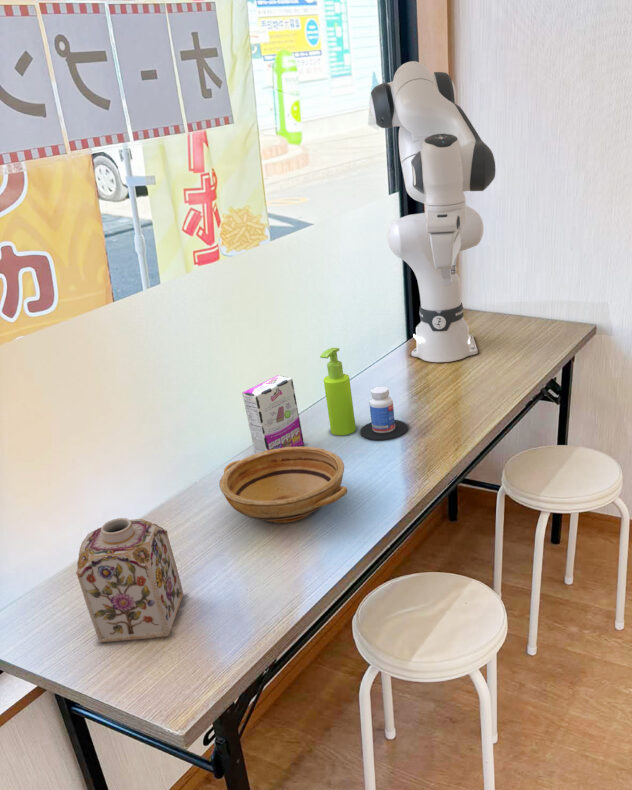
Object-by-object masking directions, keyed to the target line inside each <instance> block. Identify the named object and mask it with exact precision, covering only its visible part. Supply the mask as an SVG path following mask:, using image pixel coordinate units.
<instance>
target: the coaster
mask: <svg viewBox="0 0 632 790" xmlns="http://www.w3.org/2000/svg"><path fill="white" fill-rule="evenodd" d="M407 432H408V425H407V423H406V422H404V421H402V420H398V419H395V429H394V430H393V431H391V432H388V433H376V432H374V431H373V430H372V422H369V423H367V424H365V425H363V426H362V427H361V428H360V431H359V433H360V435H361V437H362V438H363V439H365V440H369V441H376V442H379V441H381V442H383V441H390V440H394V439H397V438H400V437H402V436H403V435H405V434H406V433H407Z"/></svg>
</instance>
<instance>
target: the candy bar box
mask: <svg viewBox="0 0 632 790" xmlns="http://www.w3.org/2000/svg"><path fill="white" fill-rule="evenodd" d="M241 394H242V398H243V399H242V400H243V404H244V408H245V412H246V416H247V417H246V418H247V422H248V427H249V431H250V432H249V433H250V436H251V441H252V445H253V450H254V454H257V453H261V452H264V451H268V450H272V449H278V448H284V447H303V446H304V445H305V442H304V436H303V431H302V424H301V419H300V414H299V409H298V403H297V397H296V391H295V385H294V381H293V378H292V377H288V376H284V375H275V376H273V377H272V378H269V379H267V380H265V381H263V382H261V383H259V384H257V385H255V386H252V387H251V388H249V389H247V390H245V391H243V392H241Z"/></svg>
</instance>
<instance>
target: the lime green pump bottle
mask: <svg viewBox="0 0 632 790" xmlns="http://www.w3.org/2000/svg"><path fill="white" fill-rule="evenodd" d="M339 351H340V347H333V346H332V347H330V348H328V349H326V350H323V352H322V353H321V354H320V355H319V358H321V359H329V362H327V363H326V369H327V374H328V375H326V376H325V377H324V378H323V386H324V391H325V392H324V393H325V400H326V407H327V413H328V421H329V427H330V433H331V434H332V435H333V436H339V437H340V436H348V435H351V434H353V433H355V431H357V427H356V420H355V410H354V404H353V402H354V401H353V395H352V388H351V380H350V375H349V374H346V373H344V370H343V369H344V368H343V362H342V361H341V360H339V359H338V352H339Z"/></svg>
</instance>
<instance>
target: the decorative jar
mask: <svg viewBox="0 0 632 790" xmlns="http://www.w3.org/2000/svg"><path fill="white" fill-rule="evenodd" d="M76 565H77V568H76V572H75V575H76V576H77V579H78V583H79V586H80V589H81V592H82V595H83V599H84V601H85V602H84V603H85V605H86V608H87V611H88V614H89V617H90V620H91V623H92V626H93V628H94V632H95V634H96V637H97V640H98V641H99V643H100V644H101V643H108V642H109V643H110V642H123V641H133V640H146V639H155V638H165V637H169V636H170V633H171V632H172V628H173V625H174V623H175V620H176V618H177V617H176V616H177V614H178V612H179V609H180V606H181V603H182V600H183V597H184V591H183V586H182V582H181V578H180V574H179V571H178V566H177V562H176V559H175V556H174V552H173V548H172V545H171V542H170V539H169V535H168V530H166V529H164V528H163V527H161V526H159V525H158V524H156V523H152V522H150V521H148V520H146V519H143V518H135V519H129V518H127V517H118V518H114V519H111V520H108V521H107V522H105V523H104V524H103V525H102V526H101V527H98V528H96V529H94V530H93V531H91V532H89V533H87V535H86V536H85V538H84V539H83V540H82V541H81V544H80V546H79V551H78V558H77V563H76Z"/></svg>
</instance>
